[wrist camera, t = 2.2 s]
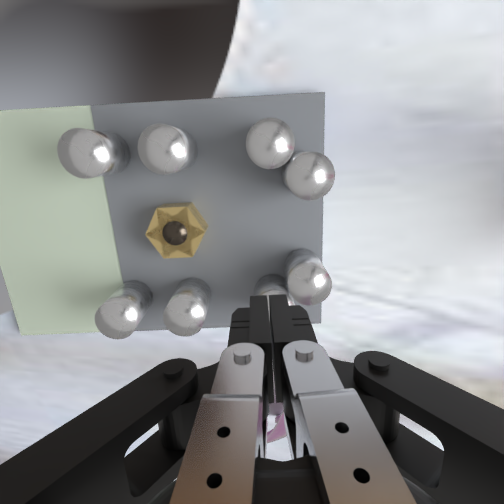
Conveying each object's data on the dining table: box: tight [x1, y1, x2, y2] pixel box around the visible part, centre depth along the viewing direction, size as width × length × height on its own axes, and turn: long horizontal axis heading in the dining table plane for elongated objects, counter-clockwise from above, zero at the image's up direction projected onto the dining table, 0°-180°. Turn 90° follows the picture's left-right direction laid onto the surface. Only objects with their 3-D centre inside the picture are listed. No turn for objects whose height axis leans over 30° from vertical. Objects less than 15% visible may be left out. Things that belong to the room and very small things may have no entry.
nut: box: [145, 202, 208, 259], centre depth 29 cm, size 5×5×2 cm
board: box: [0, 92, 325, 335], centre depth 31 cm, size 22×32×1 cm
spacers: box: [57, 118, 335, 339], centre depth 28 cm, size 18×21×5 cm
